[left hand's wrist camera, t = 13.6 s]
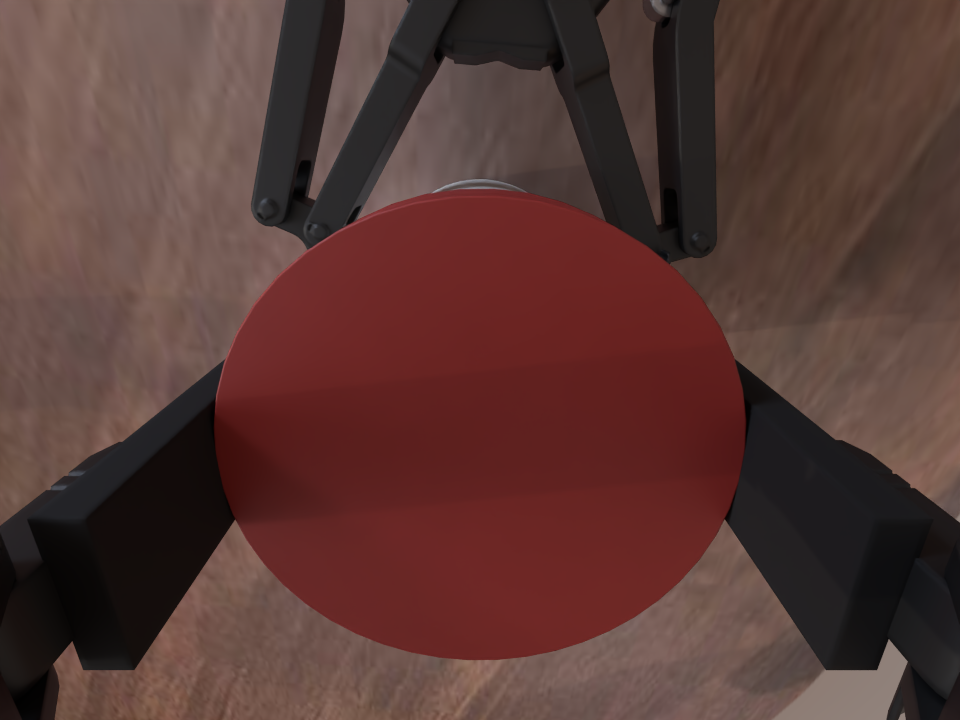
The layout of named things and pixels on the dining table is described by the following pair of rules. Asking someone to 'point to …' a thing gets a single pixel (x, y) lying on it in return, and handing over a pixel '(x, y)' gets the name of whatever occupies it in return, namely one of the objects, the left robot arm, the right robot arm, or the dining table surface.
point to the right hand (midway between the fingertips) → (472, 407)
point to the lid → (480, 426)
